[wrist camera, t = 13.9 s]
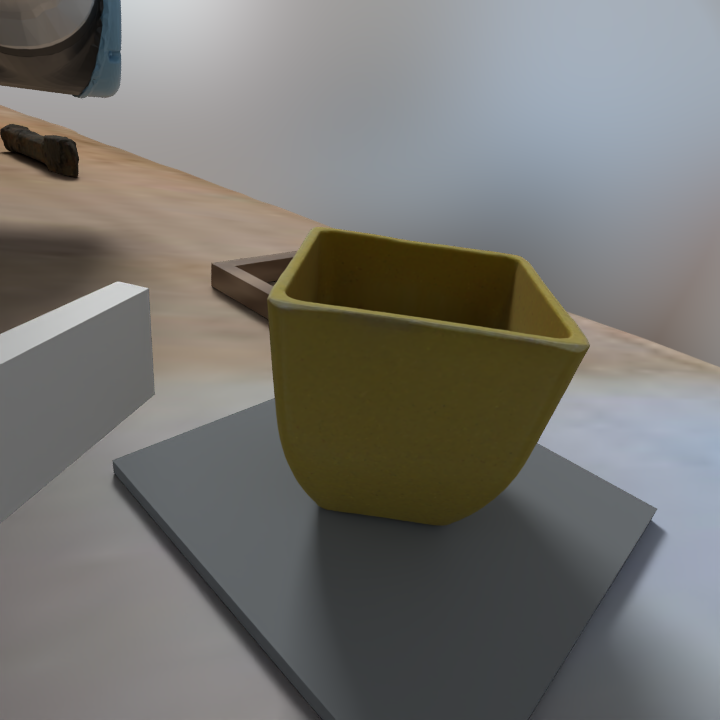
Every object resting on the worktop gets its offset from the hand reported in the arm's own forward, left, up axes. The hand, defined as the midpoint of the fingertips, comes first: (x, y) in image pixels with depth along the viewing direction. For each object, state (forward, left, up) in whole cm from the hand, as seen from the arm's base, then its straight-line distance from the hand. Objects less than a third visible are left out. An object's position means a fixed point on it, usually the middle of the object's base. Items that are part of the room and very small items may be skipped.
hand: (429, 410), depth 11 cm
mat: (-4, +6, -9) cm, 11 cm away
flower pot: (-5, +6, -8) cm, 11 cm away
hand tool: (-76, +18, -9) cm, 79 cm away
